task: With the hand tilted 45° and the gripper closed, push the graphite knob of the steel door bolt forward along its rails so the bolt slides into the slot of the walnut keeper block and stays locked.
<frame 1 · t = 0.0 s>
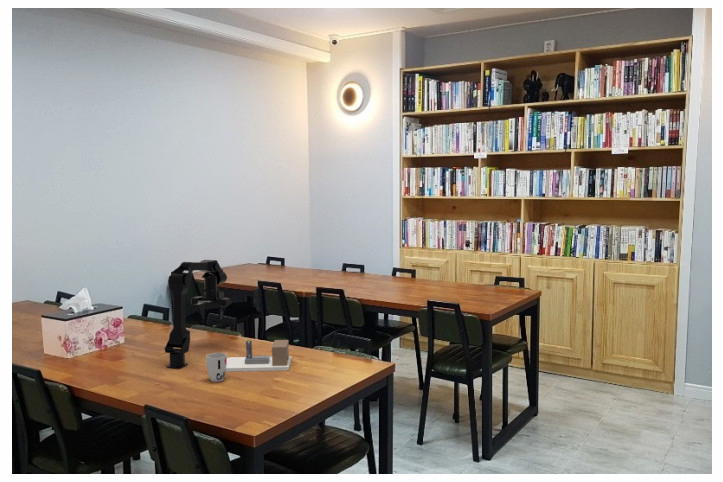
hand: (211, 318, 288), 15 cm above the table, tool pointing down, fingers open, 9 cm apart
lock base: (243, 365, 263), on the table
bolt: (257, 351, 262), point 6 cm above the table, slide at 0.0 cm
cup: (217, 380, 244), on the table
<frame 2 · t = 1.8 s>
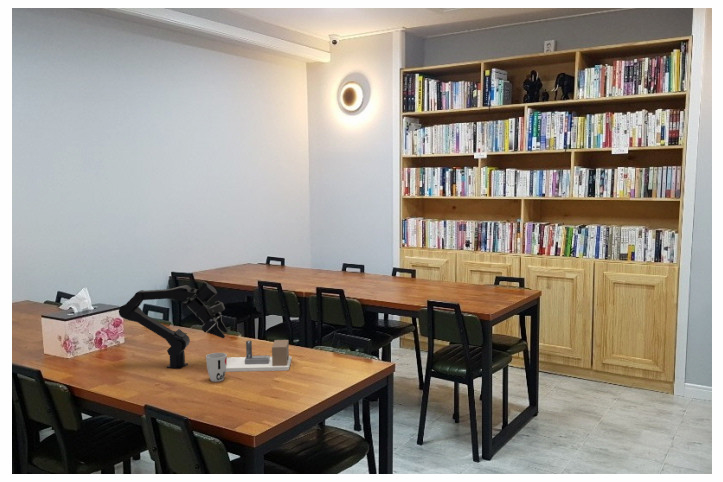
hand: (225, 334, 262), 13 cm above the table, tool tilted 45°, fingers open, 9 cm apart
nothing on the table moved.
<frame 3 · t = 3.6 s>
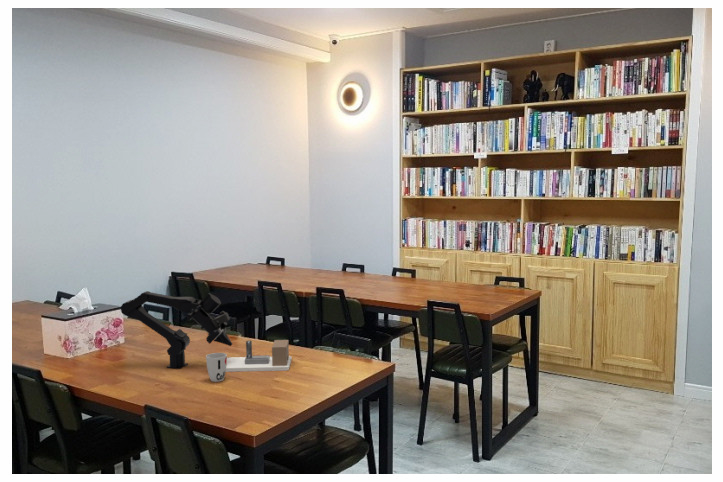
hand: (231, 345, 261), 9 cm above the table, tool tilted 45°, fingers closed
nothing on the table moved.
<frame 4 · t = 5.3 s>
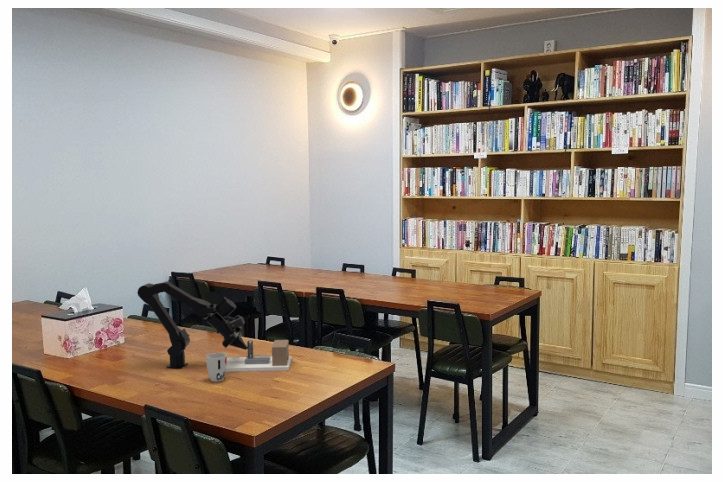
hand: (246, 349, 262), 7 cm above the table, tool tilted 45°, fingers closed, pressing on bolt
bolt: (258, 351, 262), point 6 cm above the table, slide at 0.5 cm, touching gripper
everything else where it was.
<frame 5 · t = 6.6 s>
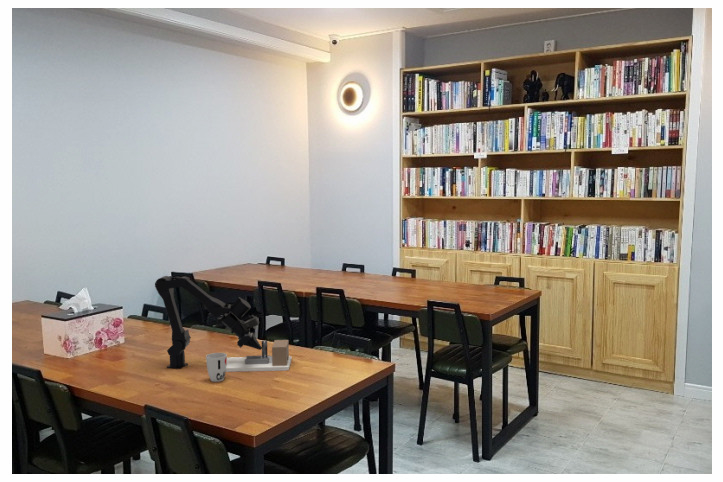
hand: (261, 349, 262), 7 cm above the table, tool tilted 45°, fingers closed, pressing on bolt
bolt: (272, 351, 262), point 6 cm above the table, slide at 6.7 cm, touching gripper
everything else where it was.
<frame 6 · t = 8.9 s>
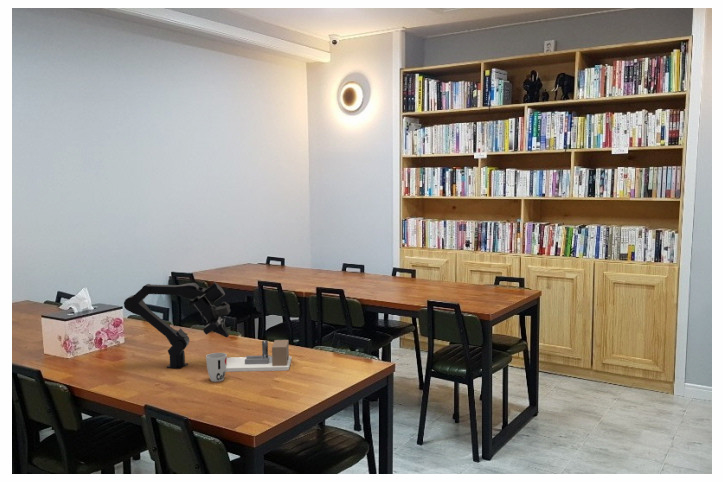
hand: (227, 336, 263), 12 cm above the table, tool tilted 35°, fingers closed
bolt: (273, 351, 262), point 6 cm above the table, slide at 6.9 cm
everything else where it was.
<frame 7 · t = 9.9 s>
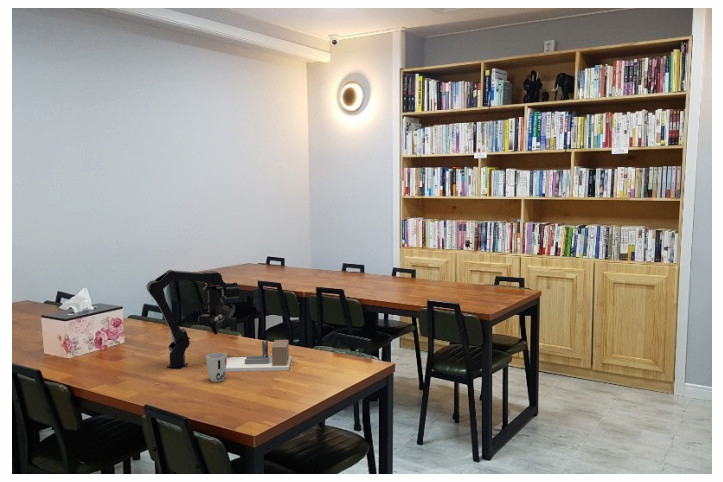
hand: (215, 334, 269), 12 cm above the table, tool pointing down, fingers closed
nothing on the table moved.
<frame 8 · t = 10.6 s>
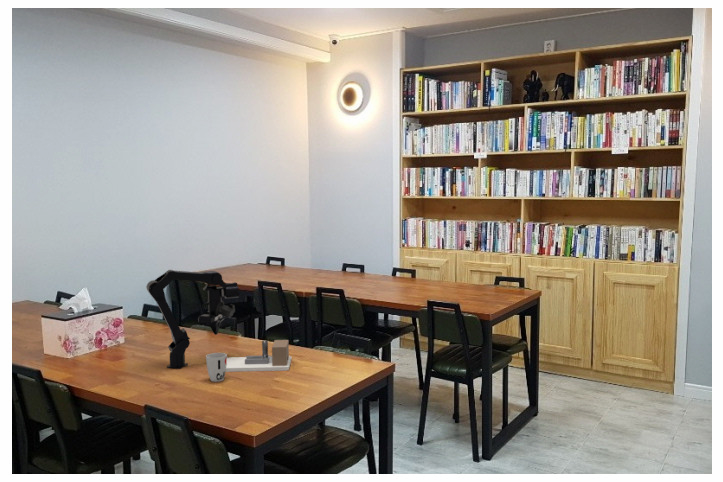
hand: (215, 334, 269), 12 cm above the table, tool pointing down, fingers closed
nothing on the table moved.
at the end: bolt slide at 6.9 cm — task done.
